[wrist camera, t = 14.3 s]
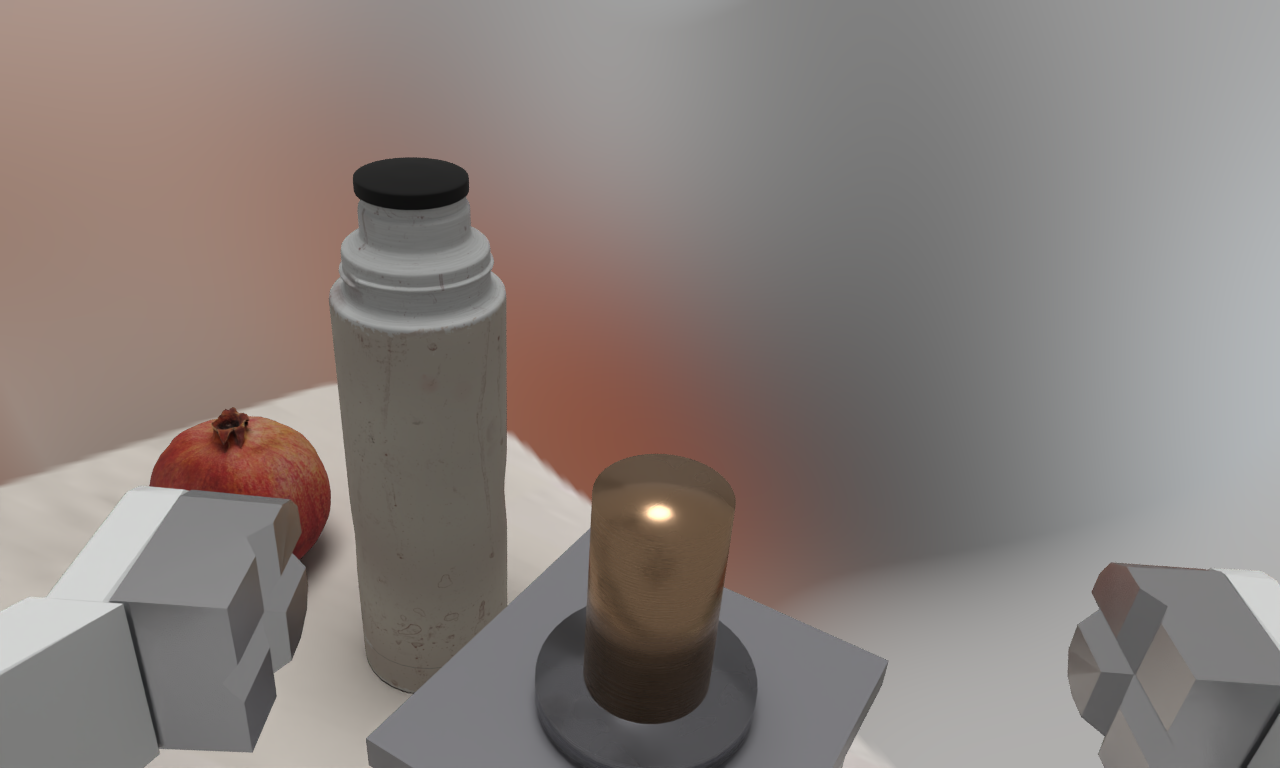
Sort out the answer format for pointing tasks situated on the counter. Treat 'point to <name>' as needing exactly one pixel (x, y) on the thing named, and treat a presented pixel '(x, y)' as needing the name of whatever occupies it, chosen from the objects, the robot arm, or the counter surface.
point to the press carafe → (532, 763)
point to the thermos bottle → (422, 415)
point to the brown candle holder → (651, 627)
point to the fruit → (250, 467)
